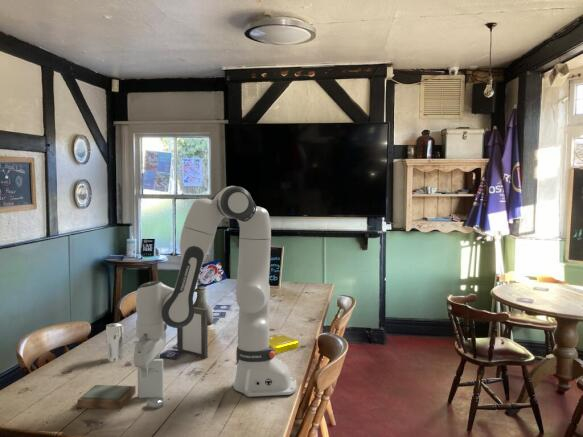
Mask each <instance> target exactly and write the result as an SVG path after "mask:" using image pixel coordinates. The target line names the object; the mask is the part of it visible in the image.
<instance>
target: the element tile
mask: <svg viewBox="0 0 583 437" xmlns="http://www.w3.org/2000/svg"><path fill="white" fill-rule="evenodd" d="M269 346H271V347H272V348H273V346H274V349H275V355H278V354H282V353H285V352H288V351H292V350H295V349H298V348H300V342H299V340H298V339H295V338H292V337H289V336H286V335H284V334H281V333H277V334H273V335H269Z"/></svg>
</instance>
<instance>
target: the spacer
mask: <svg viewBox="0 0 583 437" xmlns="http://www.w3.org/2000/svg"><path fill="white" fill-rule="evenodd" d="M163 407H164V398H163V397H150V398H148V399H147V401H146V408H147V409H148V410H159V409H161V408H163Z"/></svg>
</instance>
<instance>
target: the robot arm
mask: <svg viewBox="0 0 583 437" xmlns="http://www.w3.org/2000/svg"><path fill="white" fill-rule="evenodd" d="M251 195H252V194H251V193H250V192H249V191H248V190H247V189H245V188H244V187H242V186H236V185H230V186H226V187H224V188H222V189H220V190H219V191H218V192H217V193H216V194H214V196H212V198H211V199H210V198H198V199H196V200H194V201H193V203H192V205H191V206H190V208H189V210H188V212H187V215H186V217H185V220H184V223H183V227H182V229H181V233H180V240H179V250H180V267H179V271H178V275H177V278H176V282H175V286H174V287H171V286H168V285H167V284H164V283H163V282H162V281H159V280H153V281H152V280H151V281H147V282H145V283H141V285H139V286H138V287H137V290H136V296H135V311H136V315H137V317H136V321H135V327H136V328H135V329H136V330H135V331H136V333H135V334H136V338H138V341H137V342H136V343H135V344H134V350H133V351H134V354H133V365H134V367H135V368H138V367H140V369H141V371H142V377H147V376H148V375H149V370H148V368H147V367H148V364H149V363H150V362H151V361H152V360H153V359H160V358H161V357H160V355H161V352H162V351H163V350H164V349H165V347H166V342H167V341H166V340H167V338H166V337H167V329H168V327H170V328H175V329H177V328H181V327H184V326H186V325H188V324H189V323H190V322H191V321H192V319H193V317H194V307H195V306H194V295H195V291H196V290H195V289H196V287H197V283H198V280H199V276H200V272H201V268H202V266H203V265H204V262H205V260H206V258H207V256H208V255H209V252H210V249H211V248H212V246H213V243H214V240H215V236H216V233H217V231H218V230H217V228H218V227H219V224H220V222H221V221H222V220H223V219H225V218H226V219H227V218H228V219H234V220H236V221H237V223H238V227H239V239H238V240H239V241H238V242H239V243H238V244H239V245H238V265H237V274H236V286H235V287H236V288H235V301H236V303H237V306H238V307H239V309H238V321H237V322H238V323H237V347H236V351H235V352H236V353H235V355H236V356H235V357H236V359H235V360H236V364H237V365H236V371H235V377H234V383H233V385H232V388H233V389H234V390H235V391H237V392H239V393H242V394H244V395H245V396H246V397H249V398H251V397H266V396H267V397H270V396H283V395H284V396H286V395H287V396H288V395H291V394H294V393H295V392H296V390H297V388H298V385H297V380H296V379H295V377H292V376H291V373H290V368H289V367H288V365H287V364H286V363H284V362H283V361H281V360H280V359H279V358H277V357H276V354H275V349H274V346H273V348H272V347H271V346H269V336H270V310H271V309H270V307H271V303H270V302H271V286H270V271H271V270H270V269H271V267H270V266H271V245H272V241H271V240H272V228H271V219H270V214H269V212H268V210H267V209H266V208H264V207H261V206H257V205H256V203H255V201H254V200H253V197H252V196H251Z"/></svg>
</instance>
